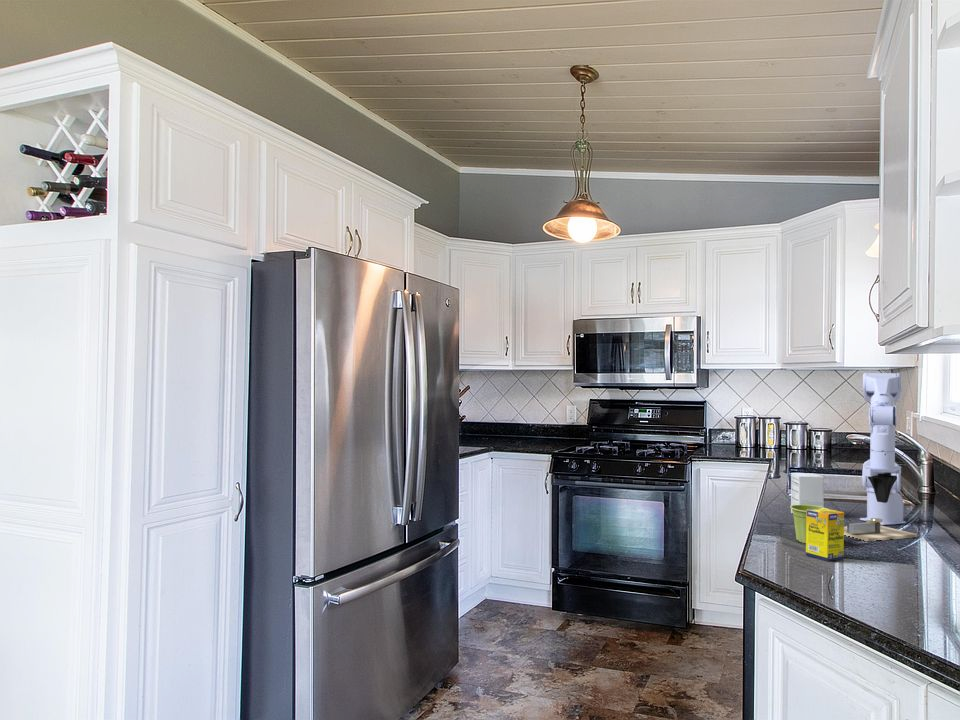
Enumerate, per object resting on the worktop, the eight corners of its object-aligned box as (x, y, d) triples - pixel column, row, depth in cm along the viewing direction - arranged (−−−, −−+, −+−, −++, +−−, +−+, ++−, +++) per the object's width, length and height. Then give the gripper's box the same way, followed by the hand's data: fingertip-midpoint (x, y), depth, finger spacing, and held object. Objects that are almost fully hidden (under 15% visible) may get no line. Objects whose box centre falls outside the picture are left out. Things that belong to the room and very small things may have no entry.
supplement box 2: (827, 561, 160) (828, 513, 160) (805, 555, 165) (805, 509, 166) (844, 559, 163) (845, 511, 163) (821, 553, 168) (822, 507, 168)
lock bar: (875, 529, 190) (875, 517, 190) (884, 531, 188) (884, 519, 188) (847, 532, 187) (847, 519, 187) (856, 534, 184) (856, 521, 184)
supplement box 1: (814, 513, 218) (815, 473, 218) (824, 518, 210) (824, 476, 210) (790, 512, 218) (790, 472, 219) (798, 517, 211) (798, 475, 211)
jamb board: (874, 527, 199) (874, 514, 199) (917, 537, 187) (917, 524, 187) (826, 531, 193) (826, 518, 193) (868, 541, 181) (868, 528, 181)
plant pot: (835, 542, 180) (835, 508, 180) (823, 548, 173) (823, 513, 173) (797, 536, 186) (797, 503, 186) (784, 541, 179) (784, 507, 179)
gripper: (882, 448, 193) (882, 497, 193) (851, 450, 186) (851, 501, 186) (909, 450, 187) (908, 501, 187) (878, 453, 180) (878, 506, 180)
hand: (882, 502), depth 186 cm, fingers closed
